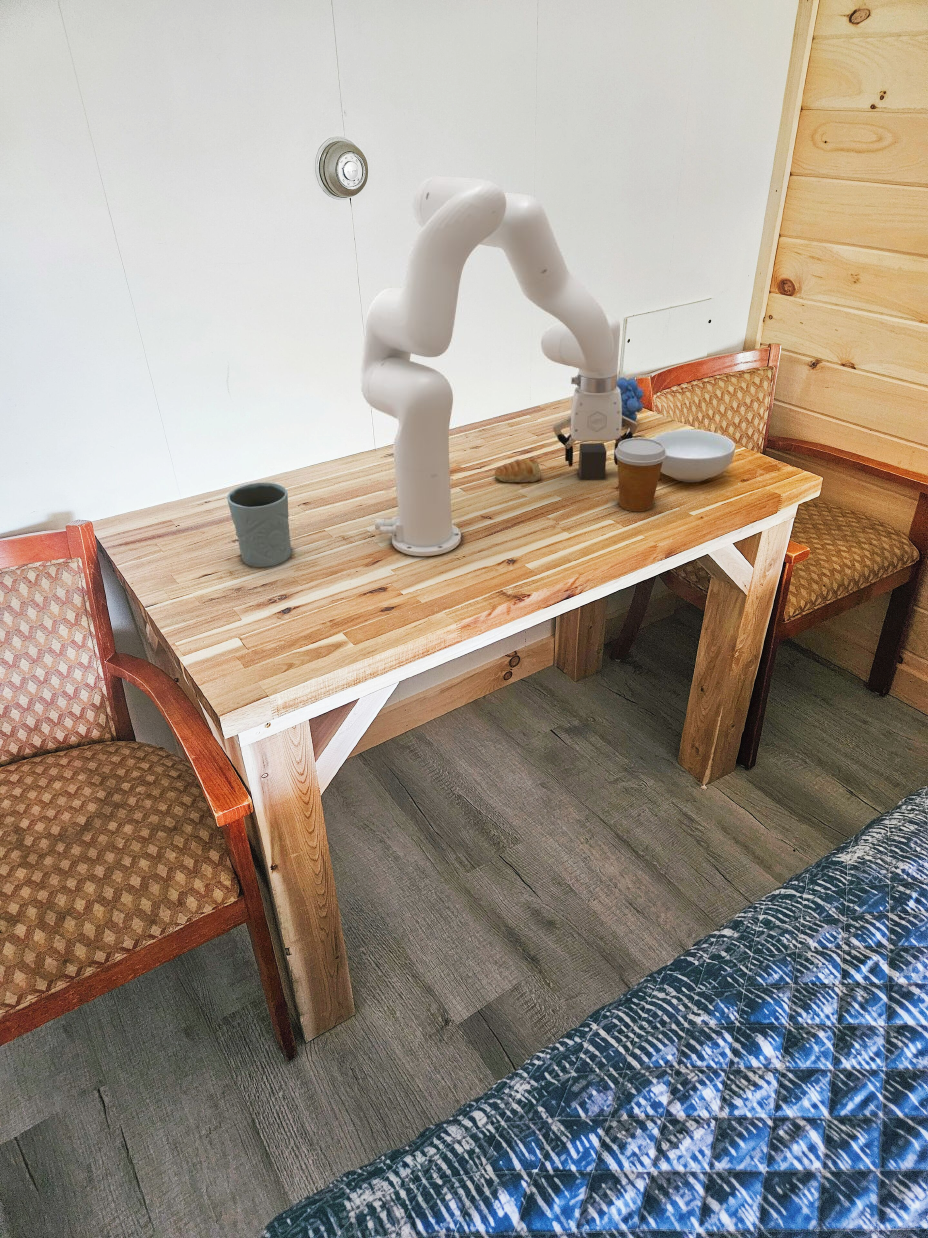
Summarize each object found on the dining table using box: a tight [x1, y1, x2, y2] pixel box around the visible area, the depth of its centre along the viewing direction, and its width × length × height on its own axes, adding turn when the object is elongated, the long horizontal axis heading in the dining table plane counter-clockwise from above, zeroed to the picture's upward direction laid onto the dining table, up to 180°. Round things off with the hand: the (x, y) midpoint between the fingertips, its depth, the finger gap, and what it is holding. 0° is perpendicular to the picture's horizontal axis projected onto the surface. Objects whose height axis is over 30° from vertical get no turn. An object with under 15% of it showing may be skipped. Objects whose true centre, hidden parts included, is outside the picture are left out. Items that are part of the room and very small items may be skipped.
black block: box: [578, 442, 607, 480], centre depth 171 cm, size 5×5×6 cm
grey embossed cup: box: [226, 482, 292, 568], centre depth 143 cm, size 10×10×12 cm
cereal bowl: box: [651, 429, 736, 483], centre depth 169 cm, size 17×17×7 cm
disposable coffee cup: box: [615, 437, 667, 512], centre depth 156 cm, size 10×10×12 cm
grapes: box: [616, 377, 644, 427], centre depth 192 cm, size 12×7×12 cm, turn 123°
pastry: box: [494, 457, 542, 483], centre depth 171 cm, size 9×7×4 cm
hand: (593, 463), depth 171 cm, fingers open, 9 cm apart
